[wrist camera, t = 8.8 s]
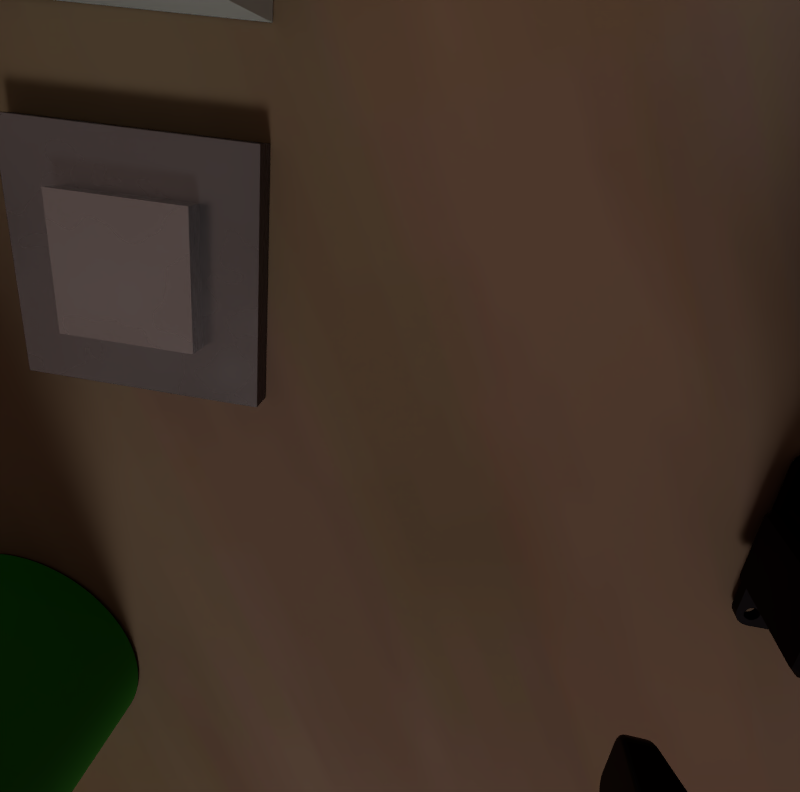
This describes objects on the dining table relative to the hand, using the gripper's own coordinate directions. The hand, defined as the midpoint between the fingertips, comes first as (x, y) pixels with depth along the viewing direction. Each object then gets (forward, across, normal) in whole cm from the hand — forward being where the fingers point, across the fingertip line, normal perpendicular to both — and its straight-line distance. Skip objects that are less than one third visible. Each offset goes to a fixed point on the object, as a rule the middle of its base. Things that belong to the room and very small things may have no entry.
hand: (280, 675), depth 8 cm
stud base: (+12, +9, -2) cm, 15 cm away
